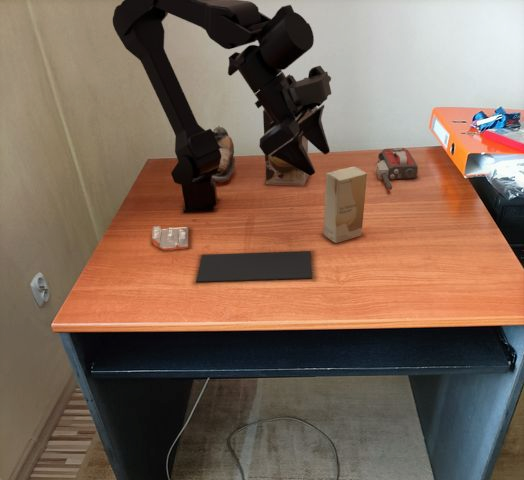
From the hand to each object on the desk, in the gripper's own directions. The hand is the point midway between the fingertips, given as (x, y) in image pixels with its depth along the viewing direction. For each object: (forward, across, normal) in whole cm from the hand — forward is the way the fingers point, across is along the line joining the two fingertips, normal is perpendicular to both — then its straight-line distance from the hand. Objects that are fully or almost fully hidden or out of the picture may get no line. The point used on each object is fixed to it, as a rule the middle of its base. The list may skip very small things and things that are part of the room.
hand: (320, 163), depth 91 cm
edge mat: (+6, -15, +14) cm, 22 cm away
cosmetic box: (+14, 0, +4) cm, 15 cm away
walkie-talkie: (+18, +31, +1) cm, 35 cm away
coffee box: (+4, +22, +20) cm, 30 cm away
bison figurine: (-6, +21, +34) cm, 40 cm away
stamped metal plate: (-5, -11, +30) cm, 32 cm away
